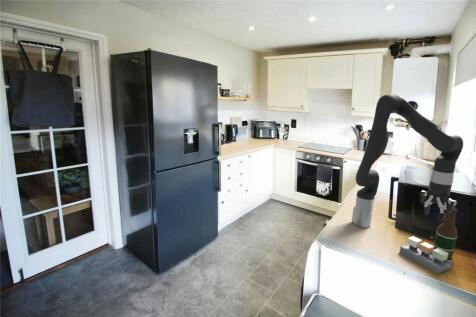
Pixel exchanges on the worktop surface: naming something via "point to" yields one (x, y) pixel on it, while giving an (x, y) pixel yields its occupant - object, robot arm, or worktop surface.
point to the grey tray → (425, 259)
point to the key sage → (439, 254)
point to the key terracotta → (426, 247)
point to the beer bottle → (447, 234)
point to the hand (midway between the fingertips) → (433, 217)
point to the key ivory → (414, 241)
